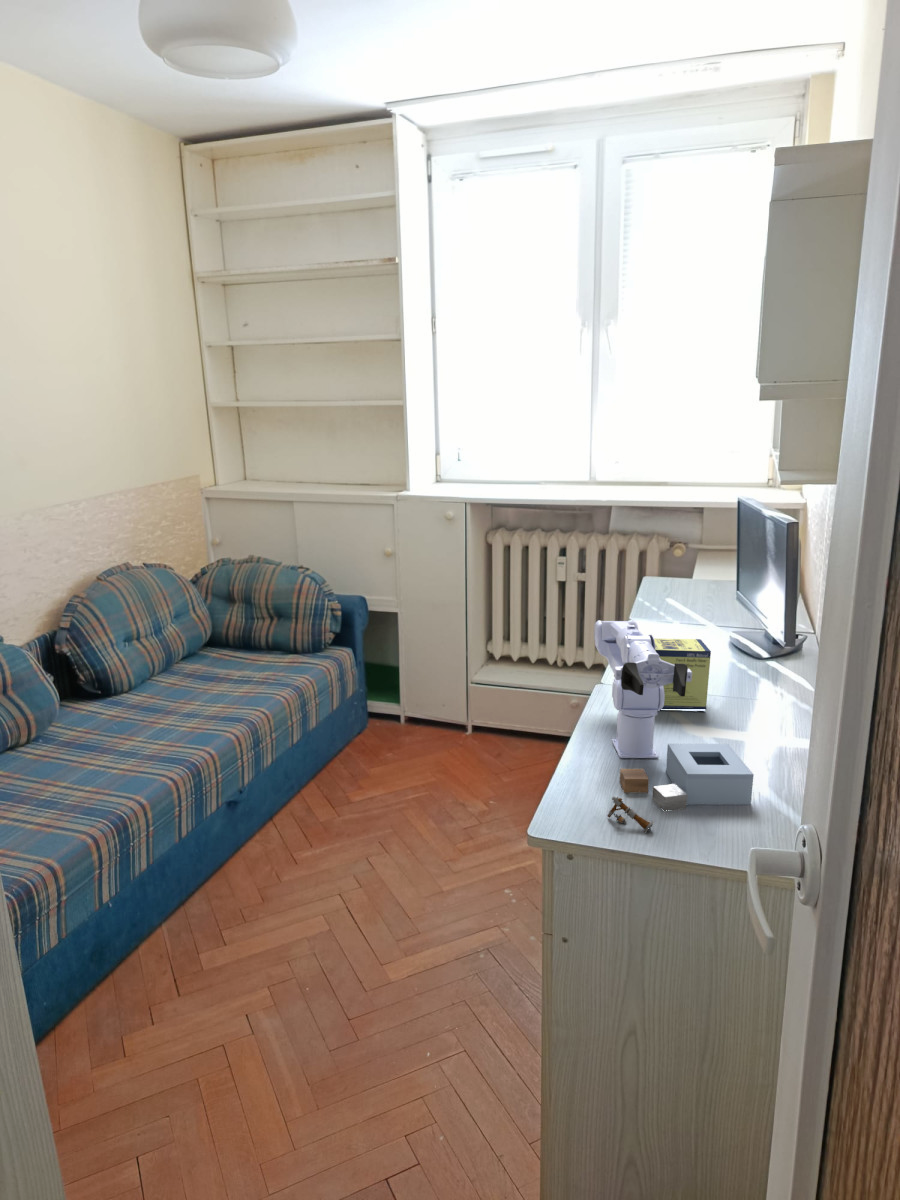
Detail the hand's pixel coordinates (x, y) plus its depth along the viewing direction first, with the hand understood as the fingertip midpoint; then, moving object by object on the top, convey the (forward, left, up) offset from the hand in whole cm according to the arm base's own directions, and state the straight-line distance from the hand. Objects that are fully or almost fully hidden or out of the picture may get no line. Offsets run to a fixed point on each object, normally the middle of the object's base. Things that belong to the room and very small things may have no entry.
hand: (662, 690), depth 149 cm
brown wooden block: (-3, -4, -21) cm, 21 cm away
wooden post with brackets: (+12, -8, -21) cm, 25 cm away
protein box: (-49, +15, -21) cm, 55 cm away
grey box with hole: (-3, +10, -20) cm, 23 cm away
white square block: (+4, +1, -21) cm, 21 cm away
